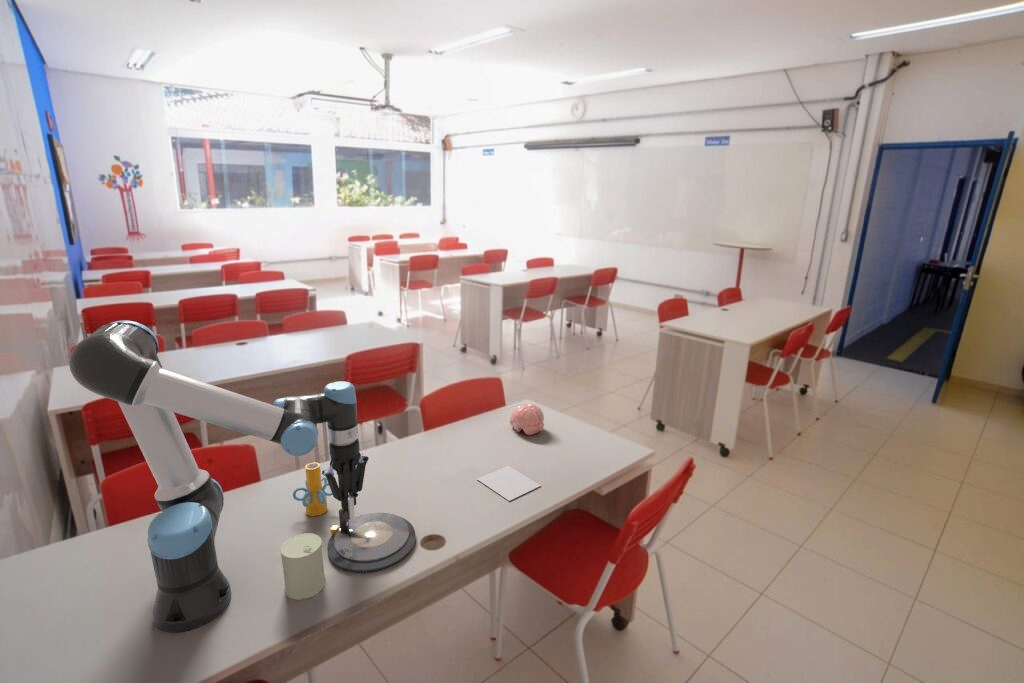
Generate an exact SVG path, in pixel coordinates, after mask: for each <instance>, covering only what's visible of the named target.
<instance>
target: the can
mask: <svg viewBox="0 0 1024 683" xmlns="http://www.w3.org/2000/svg"><path fill="white" fill-rule="evenodd" d="M322 542H323V540H322V538H321V537H320V535H318V534H316V533H312V532H311V533H310V532H305V533H300V534H296V535H293V536H291V537H290V538H287V539H286V540H285V541H284V542H283V543H282V544H281V546H280V551H279V552H280V556H281V564H282V569H283V571H282V572H283V578H284V579H283V580H284V593H285V595H286V596H287V597H288V598H290V599H291V600H299V601H300V600H306V599H310V598H312V597H314V596H315V595H317V594H319V593H320V592H322V590H323V589H324V587H325V586H326V580H327V579H326V577H325V576H326V575H325V569H324V568H325V567H324V560H323V559H324V558H323V557H324V556H323V546H322Z"/></svg>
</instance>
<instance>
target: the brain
mask: <svg viewBox="0 0 1024 683" xmlns="http://www.w3.org/2000/svg"><path fill="white" fill-rule="evenodd" d="M544 420H545V415H544V412H543V411H542V408H541V407H539V406H537V405H536V404H533V403H525V404H522V405H518V406H517V407H516V408H515V409H513V411H512V413H511V415H510V417H509V423H510V426H511V427H513V429H514V430H515V431H516V432H517V433H520V432H522V430H523V433H524V434H525V435H527V436H532V435H534V434H537V433H540V432H541V431H543V430H544V426H545V423H544Z"/></svg>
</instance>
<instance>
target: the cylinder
mask: <svg viewBox="0 0 1024 683" xmlns="http://www.w3.org/2000/svg"><path fill="white" fill-rule="evenodd" d="M304 470H305V477H306V480H305V487H301V486H300V487H298V488H296V489H295V490H294V491H293V492H292V498H293V499H294V500H296V501H299V502H300V501H302V502H301V503H302V506H303V507H305V512H306V515H308V516H309V517H317V516H321V515H323V514H325V513H326V512H327V511H328V499H327V496H328V497H331V496H333V494H332V491H331V492H327V491H326V488H327V487H328V486H329V484H328V481H327V478H326V477H325V476H323V477H322V471H321V464H320V463H319V462H309V463H307V464H306V465H305V469H304ZM323 483H324V484H323ZM299 491H303V492H304V494H303V496H302V497H298V496H297V495H296V494H297V493H298V492H299Z"/></svg>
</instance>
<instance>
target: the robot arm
mask: <svg viewBox="0 0 1024 683" xmlns="http://www.w3.org/2000/svg"><path fill="white" fill-rule="evenodd" d="M159 347H160V346H159V341H158V338H157V336H156V334H155V333H154V332H153V331H152V330H151V329H150V328H149V327H148V326H146V325H144V324H142V323H139V322H137V321H134V320H133V321H132V320H124V319H123V320H117V321H112V322H109V323H107V324H104V325H101V326H100V327H98V328H97V329H96V330H95V331H94V332H92V333H91V334H90V335H89V336H86V337H85V338H84V339H82V340H81V341H79V342H78V343H77V344H76V345H75V346H74V347H73V349H72V350H71V352H70V357H69V360H68V366H69V371H70V372H71V374H72V377H73V379H75V380H76V382H77V383H78V384H79V385H81V386H82V387H83V388H85V389H86V390H88V391H90V392H92V393H94V394H96V395H98V396H101V397H103V398H106V399H110V400H112V401H116V402H117V403H118V405H119V407H120V409H121V411H122V414H123V416H124V418H125V419H126V422H127V424H128V426H129V428H130V430H131V433H132V435H133V437H134V438H135V441H136V443H137V445H138V447H139V449H140V452H142V455H143V457H144V460H145V461H146V463H147V465H148V467H149V469H150V471H151V474H152V475H153V478H154V479H155V481H156V484H157V486H158V487H157V489H156V491H155V493H154V499H155V500H156V503H157V505H158V507H159V510H160V511H161V512H160V513H158V514H156V515H155V517H154V518H152V520H151V521H150V523H149V525H148V528H147V546H148V548H149V551H150V556H151V560H152V566H153V570H154V576H155V579H156V584H157V589H156V590H157V591H156V594H155V599H154V604H153V607H152V615H153V622H154V624H155V626H156V627H157V628H158V629H160V630H161V631H164V632H168V633H180V632H186V631H190V630H193V629H196V628H199V627H201V626H204V625H206V624H207V623H209V622H211V621H212V620H214V619H215V618H217V617H218V616H219V615H220V614H221V613H222V612H223V611H225V609H226V608H227V607H228V605H229V604H230V601H231V599H232V590H231V584H230V582H229V580H228V578H227V577H226V575H224V573H223V571H222V570H221V569H220V567H219V564H218V557H217V551H216V545H215V540H216V539H215V538H216V533H217V529H218V525H219V520H220V517H221V512H222V510H223V508H224V504H225V503H224V499H225V498H224V492H223V489H222V486H221V485H220V483H219V482H218V481H217V480H215V479H214V478H212V477H211V475H210V474H209V472H208V471H207V470H205V469H200V468H199V466H198V464H197V461H196V460H195V457H194V455H193V453H192V451H191V449H190V446H189V444H188V442H187V440H186V437H185V435H184V433H183V430H182V429H181V426H180V423H179V422H178V419H177V416H176V414H179V415H182V416H186V417H189V418H190V419H191V418H192V419H195V420H199V421H201V422H204V423H209V424H211V425H215V426H218V427H223V428H225V429H229V430H233V431H236V432H239V433H241V434H246V435H249V436H253V437H255V438H259V439H263V440H265V441H269V442H273V443H276V444H279V445H281V447H282V449H283V451H284V452H286V453H287V455H290V456H293V457H301V456H305V455H307V454H309V453H310V452H311V451H312V450H314V448H316V446H317V444H318V443H317V442H318V436H319V430H318V426H317V425H318V424H323V423H327V439H328V441H329V442H328V446H329V447H328V448H329V456H330V462H329V467H328V468H327V469H324V470H322V471H321V475H323V477H325V478H326V479H327V483H328V484H329V485H328V486H329V489H330V491H331V492H332V494H333V495H332V496H333V498H334V499H335V500H337V501H338V502H340V505H341V506H340V507H341V509H342V508H343V509H344V510H347V509H348V516H349V520H352V519H354V518H356V515H355V514H356V512H355V511H356V510H355V506H356V505H357V498H358V496H359V494H358V493H359V492H361V491H362V490H363V486H364V485H363V484H364V479H365V472H366V466H367V463H368V461H369V456H367V455H366V454H363V453H360V450H361V449H360V439H359V426H358V425H359V424H358V406H357V405H358V404H357V397H356V396H357V395H356V388H355V385H354V384H353V383H352V382H349V381H344V380H343V381H340V380H339V381H334V382H329V383H328V384H326V385H325V386H324V390H323V392H321V393H314V394H306V395H305V394H303V395H296V396H295V395H293V396H286V397H280V398H277V399H275V400H274V402H273V404H271V403H268V402H264V401H262V400H258V399H257V398H252V397H249V396H246V395H243V394H240V393H237V392H234V391H230V390H228V389H225V388H222V387H219V386H216V385H214V384H210V383H207V382H205V381H201V380H198V379H195V378H193V377H189V376H186V375H184V374H180V373H177V372H174V371H171V370H168V369H165V368H163V365H162V363H161V360H160V359H159V356H158V353H159V350H160V349H159ZM334 471H335V472H336V475H337V480H338V482H337V480H336V477H335V472H334Z"/></svg>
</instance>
